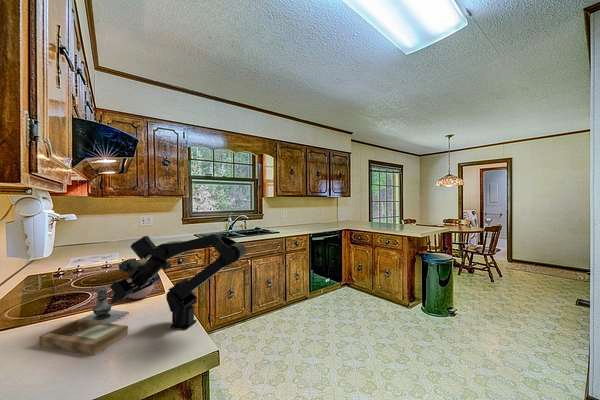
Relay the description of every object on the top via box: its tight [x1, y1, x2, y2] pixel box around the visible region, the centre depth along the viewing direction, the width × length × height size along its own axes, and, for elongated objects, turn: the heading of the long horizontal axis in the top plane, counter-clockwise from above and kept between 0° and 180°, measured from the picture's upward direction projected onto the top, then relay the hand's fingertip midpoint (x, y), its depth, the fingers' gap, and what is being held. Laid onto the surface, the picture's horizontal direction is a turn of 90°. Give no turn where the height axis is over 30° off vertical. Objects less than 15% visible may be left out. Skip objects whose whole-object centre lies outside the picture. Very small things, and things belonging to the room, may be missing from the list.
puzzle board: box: [38, 318, 129, 356], centre depth 82 cm, size 20×12×3 cm, turn 78°
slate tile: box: [80, 309, 130, 324], centre depth 97 cm, size 12×12×1 cm
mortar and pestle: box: [126, 278, 155, 300], centre depth 117 cm, size 12×12×11 cm
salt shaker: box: [91, 284, 113, 320], centre depth 97 cm, size 6×6×12 cm
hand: (122, 297), depth 96 cm, fingers open, 9 cm apart
